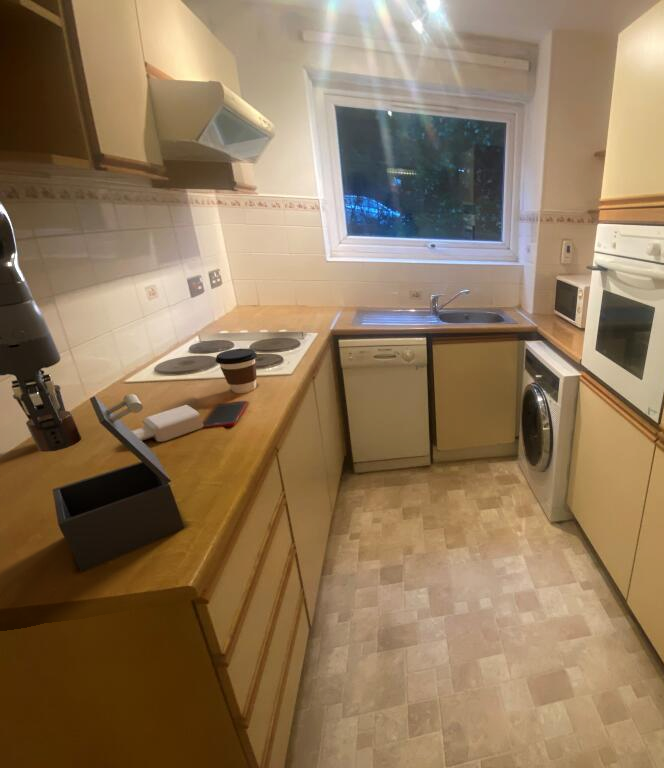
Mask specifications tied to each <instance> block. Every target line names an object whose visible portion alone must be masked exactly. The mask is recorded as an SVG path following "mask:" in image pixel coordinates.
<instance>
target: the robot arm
mask: <svg viewBox="0 0 664 768" xmlns="http://www.w3.org/2000/svg"><path fill="white" fill-rule="evenodd" d="M16 243H17V242H16V238H15V233H14V228H13V225H12V222H11V218H10V216H9V213H8V211H7V209H6V207H5V206H4V204H3V203H2V201H1V200H0V376H7V375H9V376H10V375H12V376H14V377H15V378H16V379H14V380H11V389H12V392H13V395H14V394H15V395H16V396H17V397H19V399H20V401H21V403H22V406H23V408H24V410H25V412H24V414H25V413H26V414H28V415H30V416H31V418H32V420H33V422H34V424H35V425H34V427H35V429H36V428H37V430H41V433H42V435H43V437H44V439H45V441H46V443H47V446H48V448H49V450H50V451H49V452H58V451H60V450H61V451H62V450H64V449H67V448H70V447H71V446H70V443H69V440H68V438H67V436H66V433H65V431H64V429H63V427H62V422H63V421H62V419H60V418H59V415H58V413H57V411H59V410H58V409H59V407H60V405H59V403H58V398H57V395H56V393H55V390H54V389H55V387H54V385H55V384H54V381H53V378H52V376H51V374H50V373H47V374H45V370H44V369H48V368H51V367H53V366H56V365H57V364H58V363H60V361H61V359H62V358H61V355H60V353H59V350H58V348H57V345H56V343H55V341H54V338H53V336H52V333H51V331H50V328H49V326H48V323H47V321H46V319H45V317H44V315H43V313H42V310H41V309H40V308H39V306H38V305H37V303H36V300H35V299H34V297H33V294H32V292H31V289H30V287H29V285H28V282H27V280H26V277H25V275H24V273H23V271H22V269H21V267H20V263H19V254H18V249H17V244H16ZM26 414H25V415H26ZM47 414H51V415H52V416H53V418H51V419H46V420H42V421H40V419H39V416H43V415H47ZM69 446H70V447H69Z"/></svg>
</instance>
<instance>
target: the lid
mask: <svg viewBox="0 0 664 768" xmlns="http://www.w3.org/2000/svg"><path fill="white" fill-rule="evenodd" d="M89 401H90V404H91V406H92V408H93V410H94V412H95V416H96V417H97V419H98V423H99V424H101V426H102V427H104V429H106V430H107V431H108V432H109V433H110V434H111V435H112V436H113V437H114V438H116V440H118V442H120V443H121V444H122V445H123V446H124V447H125V448H126V449H128V450H129V451H130V452H131V453H132V454H133V455H134V456H135V457H136V458H137V459H138V460H140V462H141V461H142V462H143V463H144V464H145V465H146V466H147V467H148V468H149V469H151V470H152V471H153V472H154V473H155V474H156V475H157V476H158V477H159V478H160V479H161V480H162V481H164V482H165V483H166V484H167V483H169V484H170V483H171V482H172V480H171V478H170V476H169V475H168V473H167V471H166V469H165V468H164V465H162V463H161V461H160V460H159V457H158V456H157V454H156V453H155V452H154V451H153V450H152V449H151V448H150V447H149V446H147V444H146V443H145V442H143V441H141V440H140V439H139V438H138V437H137V436H136V435H135V434H134V433H133V432H132V431H133V430H131V429H130V428H129V427H128V426H127V425H126V424H125V423H124V422H122V420H121V419H123V417H125V416H127V415H129V414H131V413H133V414H138V413H140V412H141V411H143V408H144V405H143V403H142V402H141V401H140V399H139V398H138V396H137V395H136V394H133V393H129V394H125V395H124V396H123V399H122V401H120V402H119V403H116V404H115V405H113V406H111V407H109V408H108V406H106V405H105V404H104V403H103V402H102V401H101V400H100V399H99V398H98V397H97V396H95V395H94V396H92V397H90V398H89ZM124 407H126V408H124ZM122 408H124V409H123V410H121V409H122ZM119 410H121V411H119ZM117 411H119V412H117ZM115 412H117V413H115ZM114 413H115V414H114Z"/></svg>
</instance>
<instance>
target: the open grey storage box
mask: <svg viewBox="0 0 664 768" xmlns="http://www.w3.org/2000/svg"><path fill="white" fill-rule="evenodd" d="M52 495H53V502H54V506H55V514H56V520H57V525H58V527H59V529H60V531H61V534H62V535H63V537H64V539H65V542H66V544H67V546H68V547H69V550H70V552H71V554H72V556H73V558H74V561H75V563H76V564H77V567H78V569H79V570H80V572H82V571H86V570H87V569H90V568H92V567H94V566H97V565H99V564H102V563H105V562H106V561H108V560H111V559H114V558H116V557H119V556H121V555H123V554H126V553H129V552H130V551H133V550H135V549H138V548H141V547H143V546H145V545H148V544H150V543H152V542H155V541H157V540H159V539H162V538H164V537H167V536H169V535H171V534H174V533H176V532H179V531H181V530H183V529H185V525H184V522H183V519H182V516H181V513H180V511H179V508H178V507H179V506H178V504H177V502H176V499H175V497H174V493H173V490H172V488H171V485H170V482H169V483H167V484H166V483H165V482H164V481H162V480H161V479H160V478H159V477H158V476H157V475H156V474H155V473H154V472H153V471H152V470H151V469H149V468H148V467H147V466H146V465H145V464H144V463H143V462H142V461H141V460H140V461H138V462H135V463H132V464H129V465H126V466H122V467H119V468H116V469H112V470H109V471H105V472H103V473H100V474H96V475H93V476H90V477H87V478H84V479H80V480H78V481H74V482H71V483H68V484H64V485H62V486H61V485H60V486H57V487H55V488H52Z"/></svg>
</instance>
